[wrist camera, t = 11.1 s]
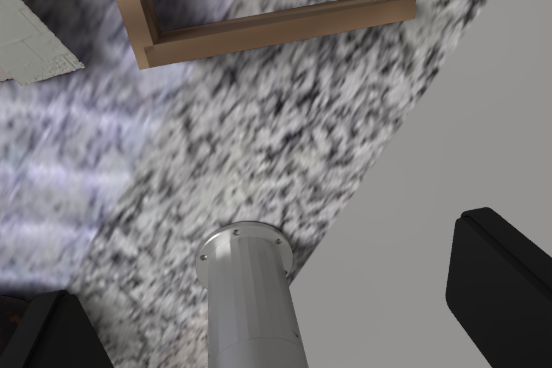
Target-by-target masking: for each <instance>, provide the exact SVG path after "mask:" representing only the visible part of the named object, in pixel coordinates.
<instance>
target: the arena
mask: <svg viewBox="0 0 552 368" xmlns="http://www.w3.org/2000/svg"><path fill="white" fill-rule="evenodd" d="M117 3H118V6H119V9H120V12H121V15H122V18H123V21H124V24H125V27H126V30H127V33H128V36H129V39H130V42H131V45H132V48H133V51H134V54H135V57H136V60H137V63H138V66H139V69H140V70H141V69H146V68H152V67H157V66H162V65H168V64H173V63H179V62H184V61H189V60H195V59H200V58H205V57H211V56H216V55H222V54H227V53H232V52H238V51H243V50H248V49H254V48H259V47H265V46H270V45H275V44H281V43H286V42H291V41H297V40H302V39H308V38H313V37H318V36H324V35H329V34H334V33H340V32H345V31H351V30H356V29H361V28H367V27H372V26H377V25H383V24H388V23H394V22H399V21H404V20H410V19H415V6H416V0H336V1H331V2H325V3H320V4H314V5H308V6H303V7H297V8H292V9H286V10H281V11H275V12H270V13H264V14H259V15H253V16H248V17H242V18H237V19H231V20H226V21H220V22H215V23H209V24H204V25H198V26H193V27H187V28H181V29H176V30H170V31H165V32H161V29H160V26H159V22H158V19H157V15H156V12H155V8H154V5H153V1H152V0H117Z"/></svg>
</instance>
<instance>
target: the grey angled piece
mask: <svg viewBox="0 0 552 368" xmlns="http://www.w3.org/2000/svg"><path fill="white" fill-rule="evenodd" d="M78 61H79V60H78V59H76V57H75V55H74V54H72V53H71V52H69V50H68V49H67V47H65V46H64V45H63V44H61V41H60V40H59V39H57V37H55V36H54V33H52V32H51V31H50V30H48V28H47V26H46V25H44V23H43V22H41V21H40V19H39V17H36V15H35V14H34V13H33V12H31V10H30V9H29V8H28V7H27V6H26V5H25V4H24V2H23V1H21V0H0V81H6V79H11V78H12V79H15V80H16V81H17V82H18V83H19V84H20V85H21V86H25V85H29V84H31V83H35V82H36V81H40V80H45V79H48V78H50V77H53V75H55V76H57V75H59V74H63V73H66V72H68V73H69V72H71V71H75V70H77V69H79V68H84V67H85V66H83V65H84V64H82V63H81V62H78Z"/></svg>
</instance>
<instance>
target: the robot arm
mask: <svg viewBox="0 0 552 368" xmlns="http://www.w3.org/2000/svg"><path fill="white" fill-rule="evenodd" d="M292 265H293V253H292V249H291V246H290V244H289V241H288V240H287V239H286V237H285V236H284V235H283V234H282V233H281V232H280V231H278V230H277V229H275V228H273V227H271V226H269V225H266V224H263V223H257V222H239V223H233V224H230V225H227V226H224V227H222V228H220V229H218V230H216V231H215V232H213V233H212V234H211V235H209V236H208V237H207V238H206V239H205V240H204V241H203V243H202V244H201V246H200V247H199V249H198V252H197V255H196V262H195V268H196V274H197V277H198V279H199V281H200V282H201V284H202V285H203V286H204V287H205V288H206V289H207V290H208V368H309V367H308V364H307V360H306V355H305V351H304V347H303V343H302V339H301V335H300V331H299V327H298V323H297V319H296V315H295V311H294V307H293V303H292V298H291V294H290V290H289V286H288V282H287V277H288V275H289V273H290V271H291V269H292ZM446 301H447V305H448V307H449V309H450V310H451V312H452V313H453V314H454V316H455V317H456V319H457V320H458V321H459V323H460V324H461V325H462V327H463V328H464V330H465V331H466V332H467V334H468V335H469V336H470V338H471V339H472V340H473V342H474V343H475V344H476V346H477V348H478V349H479V350H480V352H481V353H482V354H483V356H484V357H485V358H486V360H487V361H488V363H489V364H490V365H491V367H492V368H552V258H551V257H550V256H549V255H548V254H546V253H545V252H544V251H543V250H542V249H540V248H539V247H538V246H537V245H535V244H534V243H533V242H532V241H531V240H529V239H528V238H527V237H525V236H524V235H523V234H522V233H521V232H519V231H518V230H517V229H516V228H514V227H513V226H512V225H511V224H510V223H508V222H507V221H506V220H505V219H503V218H502V217H501V216H500V215H499V214H497V213H496V212H495V211H494V210H492V209H491V208H488V207H484V208H479V209H474V210H469V211H465V212H463V213H462V214H461V217H460V218H459V219H457V220H456V223H455V229H454V236H453V243H452V252H451V258H450V266H449V273H448V280H447V287H446ZM0 368H114V367H113V364H112V363H111V361H110V359H109V357H108V355H107V353H106V351H105V349H104V347H103V345H102V343H101V342H100V340H99V338H98V336H97V334H96V332H95V330H94V328H93V326H92V324H91V322H90V321H89V319H88V317H87V315H86V313H85V311H84V309H83V307H82V305H81V303H80V301H79V299H78V298H77V296H76V295H74V294H72V295H70V294H69V293H68V292H67V291H66V290H59V291H54V292H49V293H44V294H39V295H37V296H35V297H34V299H33V300H32V302H31V303H30V305H29V307H28V309H27V311H26V312H25V314H24V316H23V318H22V320H21V321H20V323H19V325H18V327H17V329H16V331H15V332H14V334H13V336H12V338H11V340H10V341H9V343H8V345H7V347H6V349H5V350H4V352H3V354H2V356H1V358H0Z"/></svg>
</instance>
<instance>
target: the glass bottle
mask: <svg viewBox="0 0 552 368" xmlns="http://www.w3.org/2000/svg"><path fill="white" fill-rule="evenodd" d="M29 305H30V303H29V302H26V301H23V300H20V299H17V298H12V297H7V296H0V358H1V356H2V354H3V352H4V350H5V349H6V347H7V345H8V343H9V341H10V340H11V338H12V336H13V334H14V332H15V331H16V329H17V327H18V325H19V323H20V321H21V320H22V318H23V316H24V314H25V312H26V311H27V309H28V307H29Z"/></svg>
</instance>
